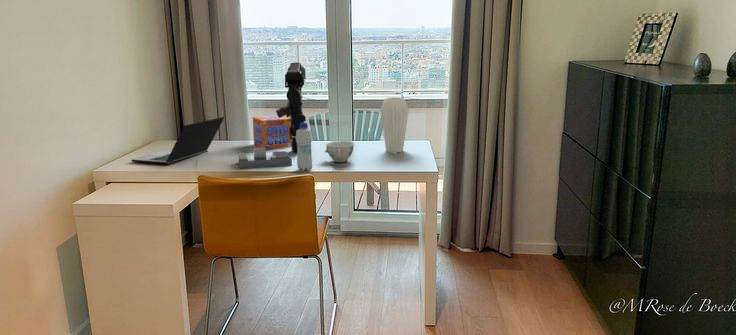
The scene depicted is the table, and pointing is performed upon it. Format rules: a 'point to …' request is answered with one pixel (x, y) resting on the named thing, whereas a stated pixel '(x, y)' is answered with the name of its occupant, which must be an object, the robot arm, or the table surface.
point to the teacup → (340, 150)
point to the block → (259, 153)
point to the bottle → (304, 147)
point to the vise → (262, 162)
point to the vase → (394, 123)
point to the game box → (271, 132)
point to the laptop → (186, 143)
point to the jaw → (280, 155)
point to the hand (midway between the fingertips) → (296, 135)
